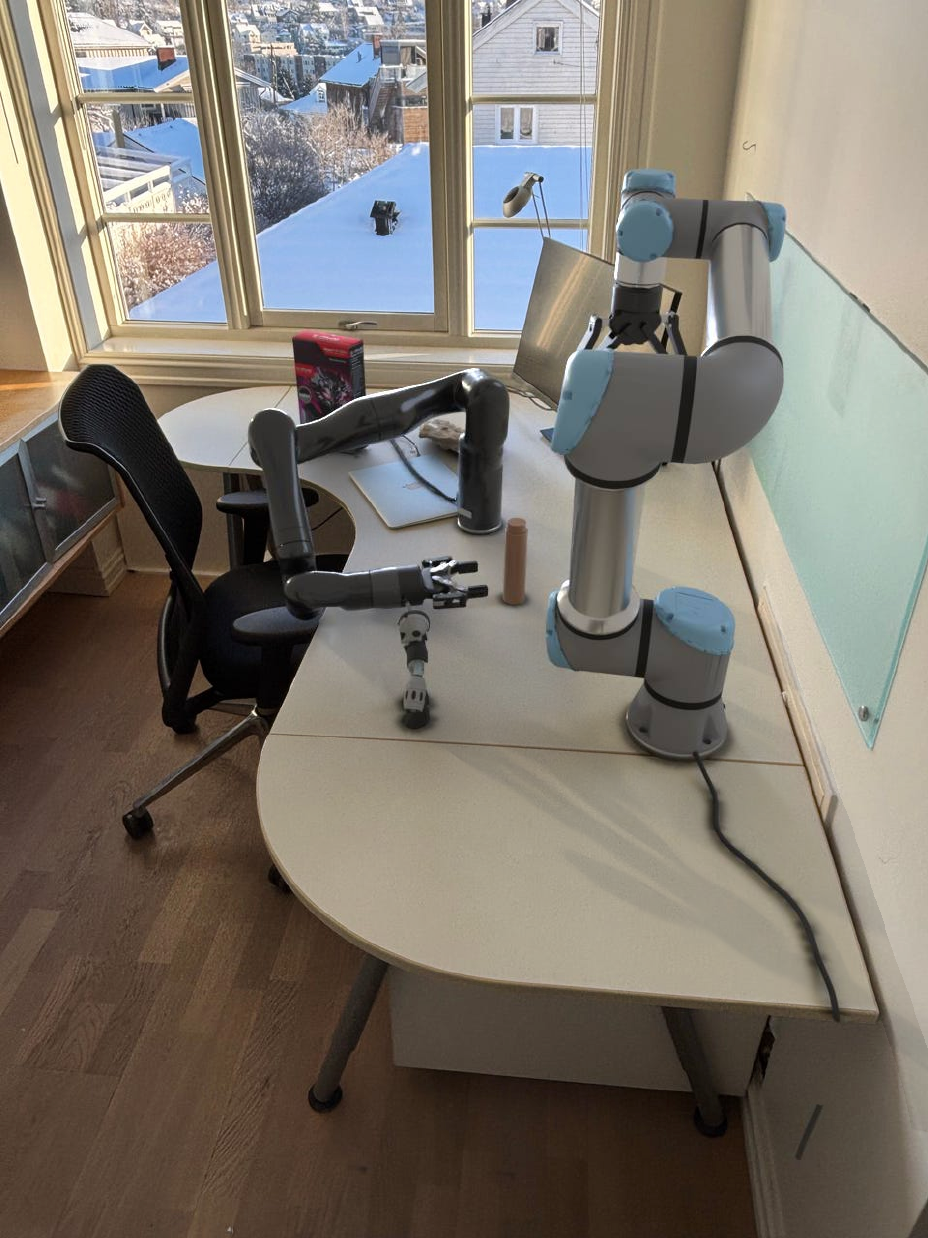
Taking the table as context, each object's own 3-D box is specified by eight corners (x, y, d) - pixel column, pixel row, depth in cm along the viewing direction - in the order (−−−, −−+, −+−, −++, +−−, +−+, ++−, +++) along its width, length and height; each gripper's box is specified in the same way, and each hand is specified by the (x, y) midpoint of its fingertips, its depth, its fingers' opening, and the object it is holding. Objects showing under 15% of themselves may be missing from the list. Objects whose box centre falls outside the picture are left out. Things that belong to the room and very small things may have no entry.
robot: (432, 752, 138) (431, 644, 127) (400, 753, 138) (395, 645, 127) (430, 673, 154) (428, 571, 143) (401, 674, 154) (397, 571, 143)
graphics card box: (299, 442, 234) (289, 335, 219) (315, 433, 239) (306, 328, 224) (356, 456, 228) (349, 346, 213) (371, 446, 233) (365, 338, 218)
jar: (509, 591, 177) (512, 514, 167) (527, 597, 175) (532, 520, 166) (498, 601, 174) (501, 523, 164) (518, 607, 172) (521, 529, 163)
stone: (402, 443, 226) (407, 419, 224) (421, 434, 240) (426, 412, 237) (483, 468, 223) (489, 444, 220) (497, 458, 236) (503, 435, 234)
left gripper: (391, 583, 175) (474, 575, 178) (401, 626, 164) (490, 616, 166) (389, 549, 171) (475, 541, 174) (400, 590, 159) (491, 581, 162)
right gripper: (705, 273, 145) (686, 402, 157) (552, 279, 141) (544, 411, 153) (725, 285, 139) (704, 419, 151) (566, 291, 135) (557, 428, 147)
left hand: (482, 578), depth 170 cm, fingers open, 8 cm apart
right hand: (623, 415), depth 152 cm, fingers open, 13 cm apart
